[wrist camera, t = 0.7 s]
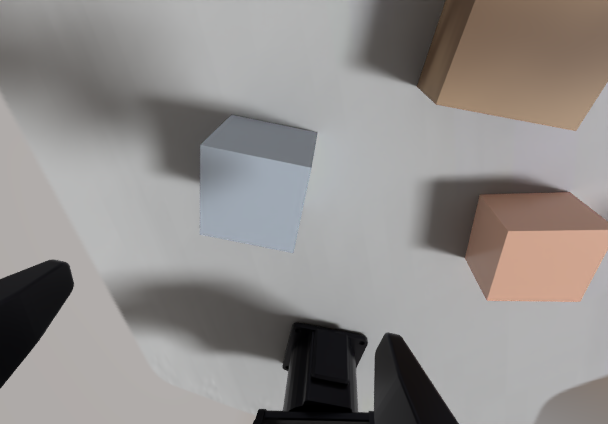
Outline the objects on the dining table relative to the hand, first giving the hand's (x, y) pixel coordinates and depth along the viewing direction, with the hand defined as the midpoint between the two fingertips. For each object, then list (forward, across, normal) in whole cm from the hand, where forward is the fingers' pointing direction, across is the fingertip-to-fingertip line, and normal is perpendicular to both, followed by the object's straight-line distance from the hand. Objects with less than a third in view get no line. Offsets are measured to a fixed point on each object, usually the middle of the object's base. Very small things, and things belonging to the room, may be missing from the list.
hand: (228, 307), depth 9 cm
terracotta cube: (+12, -15, +1) cm, 19 cm away
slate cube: (+12, +1, +1) cm, 12 cm away
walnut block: (+12, -9, -8) cm, 17 cm away
